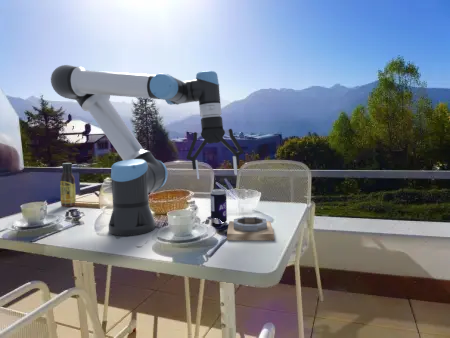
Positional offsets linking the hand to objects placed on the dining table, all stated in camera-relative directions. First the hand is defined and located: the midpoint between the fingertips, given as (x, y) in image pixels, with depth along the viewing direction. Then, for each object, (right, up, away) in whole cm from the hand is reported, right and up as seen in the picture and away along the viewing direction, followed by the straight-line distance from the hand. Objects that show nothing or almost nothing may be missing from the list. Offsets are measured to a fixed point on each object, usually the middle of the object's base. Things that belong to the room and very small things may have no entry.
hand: (217, 176), depth 116 cm
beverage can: (+1, -17, +1) cm, 17 cm away
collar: (+11, -16, -12) cm, 23 cm away
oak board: (+11, -18, -12) cm, 24 cm away
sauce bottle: (-69, -15, +34) cm, 79 cm away
